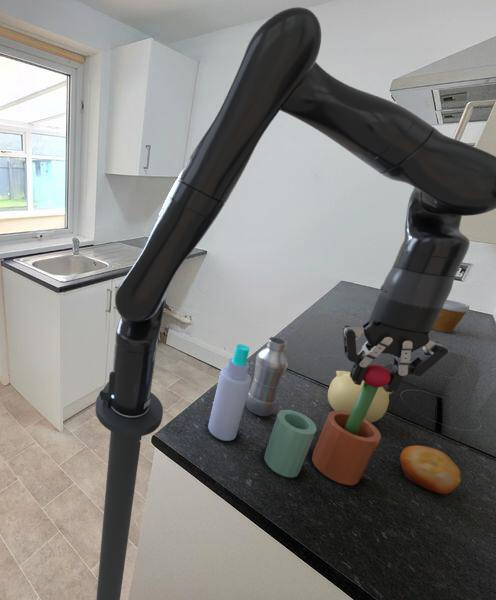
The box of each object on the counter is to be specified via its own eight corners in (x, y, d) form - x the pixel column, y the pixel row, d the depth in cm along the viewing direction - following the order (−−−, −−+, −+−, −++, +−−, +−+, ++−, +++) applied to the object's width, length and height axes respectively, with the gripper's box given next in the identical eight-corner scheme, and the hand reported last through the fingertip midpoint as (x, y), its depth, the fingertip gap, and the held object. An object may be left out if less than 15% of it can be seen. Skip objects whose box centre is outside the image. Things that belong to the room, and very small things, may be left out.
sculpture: (380, 412, 80) (397, 377, 76) (377, 437, 71) (396, 399, 68) (327, 391, 87) (340, 358, 83) (319, 412, 79) (333, 376, 75)
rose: (327, 466, 62) (369, 368, 53) (322, 451, 65) (362, 357, 57) (351, 474, 60) (399, 375, 52) (345, 458, 64) (389, 363, 55)
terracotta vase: (315, 475, 61) (334, 432, 57) (308, 445, 68) (324, 405, 64) (365, 492, 58) (388, 447, 54) (352, 459, 65) (371, 418, 61)
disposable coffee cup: (423, 322, 138) (435, 297, 133) (453, 329, 132) (467, 303, 128) (427, 329, 131) (440, 303, 126) (459, 337, 125) (474, 309, 121)
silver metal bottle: (271, 423, 74) (295, 351, 67) (241, 412, 77) (260, 341, 70) (273, 408, 79) (295, 339, 72) (244, 398, 82) (263, 331, 75)
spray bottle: (226, 446, 67) (249, 358, 59) (202, 428, 71) (221, 344, 63) (241, 434, 70) (265, 350, 62) (217, 418, 75) (237, 337, 67)
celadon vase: (265, 469, 62) (279, 426, 58) (263, 446, 67) (276, 405, 63) (302, 482, 60) (319, 438, 56) (297, 457, 65) (313, 416, 61)
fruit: (451, 471, 62) (470, 457, 57) (443, 507, 59) (462, 496, 54) (397, 446, 67) (410, 431, 62) (387, 479, 64) (399, 466, 59)
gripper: (364, 296, 49) (329, 386, 55) (487, 314, 44) (433, 411, 50) (350, 283, 56) (320, 365, 62) (455, 298, 50) (411, 385, 57)
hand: (371, 385), depth 56 cm, fingers closed on rose, 4 cm apart
